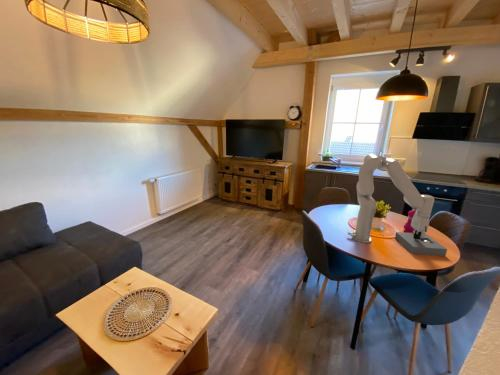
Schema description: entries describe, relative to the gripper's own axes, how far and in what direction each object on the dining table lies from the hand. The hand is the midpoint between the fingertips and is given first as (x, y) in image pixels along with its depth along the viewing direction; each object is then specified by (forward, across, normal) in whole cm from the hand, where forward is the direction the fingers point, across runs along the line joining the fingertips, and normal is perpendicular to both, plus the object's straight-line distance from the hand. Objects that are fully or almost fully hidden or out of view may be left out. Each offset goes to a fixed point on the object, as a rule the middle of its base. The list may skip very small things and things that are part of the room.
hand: (416, 238), depth 146 cm
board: (+6, 0, +2) cm, 6 cm away
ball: (+3, 0, +7) cm, 8 cm away
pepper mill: (+6, -20, +8) cm, 22 cm away
